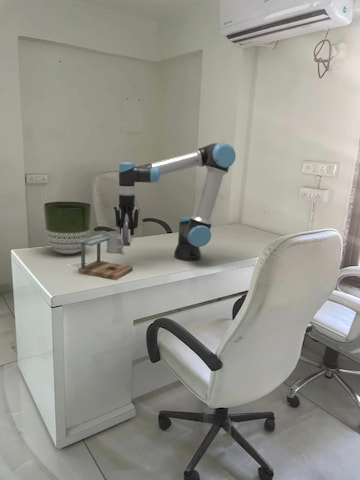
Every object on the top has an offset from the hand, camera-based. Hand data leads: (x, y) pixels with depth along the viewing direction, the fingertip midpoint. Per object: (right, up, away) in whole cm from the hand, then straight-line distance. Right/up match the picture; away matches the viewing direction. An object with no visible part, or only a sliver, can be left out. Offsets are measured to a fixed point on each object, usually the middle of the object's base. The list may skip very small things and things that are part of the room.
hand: (126, 241), depth 184 cm
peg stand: (-9, -15, -8) cm, 19 cm away
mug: (-10, -7, +27) cm, 29 cm away
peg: (0, -2, +1) cm, 2 cm away
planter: (-35, -7, +19) cm, 41 cm away
